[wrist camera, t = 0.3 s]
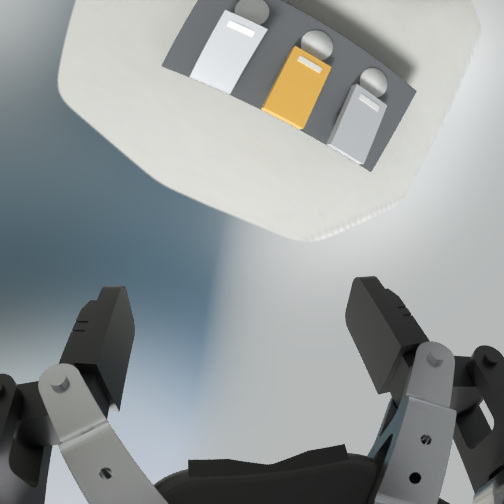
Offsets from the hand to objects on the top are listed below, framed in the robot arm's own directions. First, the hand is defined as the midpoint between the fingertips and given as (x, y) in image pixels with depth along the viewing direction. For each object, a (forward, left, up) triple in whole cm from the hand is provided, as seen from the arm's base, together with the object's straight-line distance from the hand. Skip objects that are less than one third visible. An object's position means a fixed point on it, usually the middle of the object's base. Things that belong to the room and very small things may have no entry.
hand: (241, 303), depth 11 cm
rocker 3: (-10, +10, -21) cm, 25 cm away
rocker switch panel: (-11, +3, -26) cm, 29 cm away
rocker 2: (-10, +3, -21) cm, 23 cm away
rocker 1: (-10, -4, -21) cm, 23 cm away
